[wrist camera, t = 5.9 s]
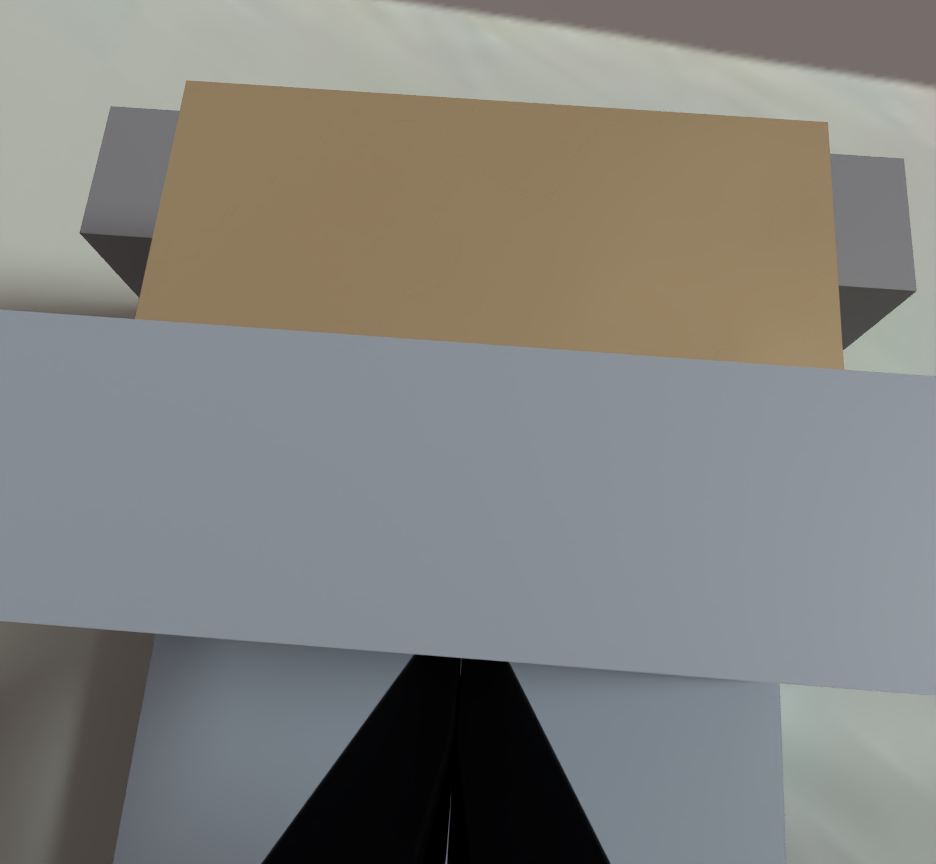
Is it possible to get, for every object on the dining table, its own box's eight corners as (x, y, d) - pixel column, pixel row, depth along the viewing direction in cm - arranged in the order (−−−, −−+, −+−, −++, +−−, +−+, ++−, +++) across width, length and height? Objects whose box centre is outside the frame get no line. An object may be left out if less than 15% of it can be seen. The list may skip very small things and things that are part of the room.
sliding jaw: (786, 681, 13) (1413, 734, 4) (149, 630, 13) (-446, 585, 5) (782, 563, 14) (1331, 405, 5) (170, 516, 14) (-325, 285, 5)
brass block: (637, 555, 14) (847, 433, 6) (310, 530, 14) (121, 380, 6) (639, 399, 15) (827, 123, 7) (330, 377, 15) (186, 80, 7)
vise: (768, 1433, 12) (1111, 2324, 5) (58, 1362, 12) (-391, 2140, 6) (739, 302, 17) (898, 97, 11) (249, 268, 17) (125, 48, 11)
